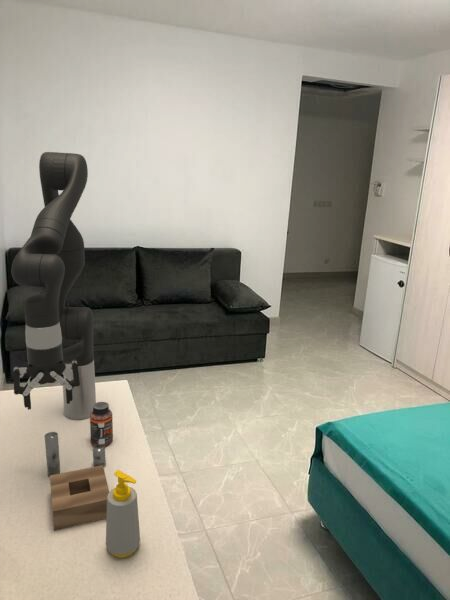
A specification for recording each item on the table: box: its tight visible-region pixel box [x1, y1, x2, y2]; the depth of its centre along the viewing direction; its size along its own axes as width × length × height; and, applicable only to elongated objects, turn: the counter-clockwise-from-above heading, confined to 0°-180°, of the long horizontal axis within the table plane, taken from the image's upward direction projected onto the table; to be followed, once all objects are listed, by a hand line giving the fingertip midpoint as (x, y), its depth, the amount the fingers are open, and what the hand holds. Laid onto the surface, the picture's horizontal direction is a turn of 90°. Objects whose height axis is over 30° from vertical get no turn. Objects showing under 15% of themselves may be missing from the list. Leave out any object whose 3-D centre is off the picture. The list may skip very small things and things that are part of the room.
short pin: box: [92, 445, 107, 468], centre depth 123 cm, size 3×3×5 cm
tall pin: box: [44, 431, 61, 478], centre depth 118 cm, size 3×3×11 cm
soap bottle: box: [105, 469, 141, 559], centre depth 97 cm, size 7×7×18 cm
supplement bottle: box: [89, 401, 114, 447], centre depth 132 cm, size 6×6×11 cm
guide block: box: [49, 465, 110, 531], centre depth 110 cm, size 12×12×5 cm
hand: (48, 405), depth 114 cm, fingers open, 8 cm apart
